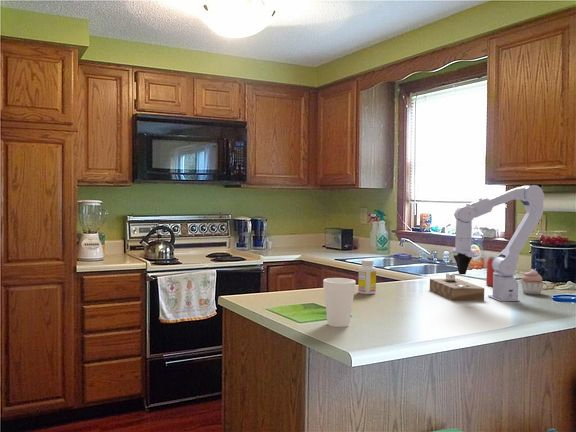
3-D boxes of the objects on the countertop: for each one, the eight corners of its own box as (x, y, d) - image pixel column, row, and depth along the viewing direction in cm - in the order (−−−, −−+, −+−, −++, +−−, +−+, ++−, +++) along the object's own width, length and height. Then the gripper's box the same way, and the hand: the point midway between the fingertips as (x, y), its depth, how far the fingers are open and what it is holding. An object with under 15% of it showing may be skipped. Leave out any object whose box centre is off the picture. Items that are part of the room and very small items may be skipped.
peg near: (467, 297, 210) (468, 286, 210) (459, 297, 209) (459, 286, 209) (463, 295, 213) (464, 284, 213) (455, 295, 213) (455, 284, 213)
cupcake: (521, 290, 229) (522, 266, 229) (546, 293, 224) (547, 268, 224) (516, 293, 222) (517, 268, 221) (541, 296, 217) (542, 271, 216)
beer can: (504, 287, 237) (506, 259, 236) (489, 287, 237) (490, 258, 236) (499, 284, 243) (500, 257, 243) (484, 284, 243) (485, 256, 243)
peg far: (456, 284, 220) (456, 274, 219) (447, 284, 219) (448, 274, 219) (452, 283, 223) (452, 273, 223) (444, 283, 222) (444, 273, 222)
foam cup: (352, 320, 169) (353, 278, 169) (356, 328, 160) (358, 283, 159) (320, 320, 169) (322, 277, 168) (323, 328, 160) (325, 282, 159)
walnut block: (484, 300, 206) (484, 288, 206) (453, 300, 204) (453, 288, 204) (457, 289, 228) (457, 278, 228) (429, 289, 226) (429, 278, 226)
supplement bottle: (375, 291, 219) (375, 259, 219) (376, 295, 213) (376, 261, 212) (357, 291, 220) (358, 258, 219) (358, 294, 213) (359, 260, 213)
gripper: (445, 236, 217) (444, 271, 217) (462, 239, 203) (460, 277, 203) (462, 236, 218) (461, 271, 218) (480, 240, 204) (479, 277, 204)
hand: (462, 274), depth 211 cm, fingers closed
